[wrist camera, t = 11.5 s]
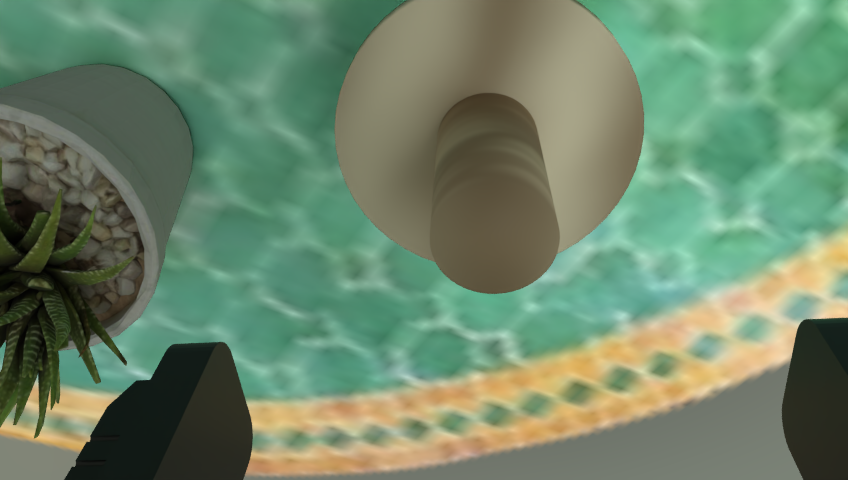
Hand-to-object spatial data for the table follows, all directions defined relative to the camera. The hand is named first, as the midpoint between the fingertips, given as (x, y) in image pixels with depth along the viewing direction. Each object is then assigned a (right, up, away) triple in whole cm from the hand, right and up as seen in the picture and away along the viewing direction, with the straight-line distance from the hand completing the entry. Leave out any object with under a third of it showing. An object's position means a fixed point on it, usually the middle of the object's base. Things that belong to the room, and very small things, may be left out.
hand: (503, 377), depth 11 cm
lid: (+1, +6, +17) cm, 18 cm away
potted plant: (-19, +8, +32) cm, 38 cm away
